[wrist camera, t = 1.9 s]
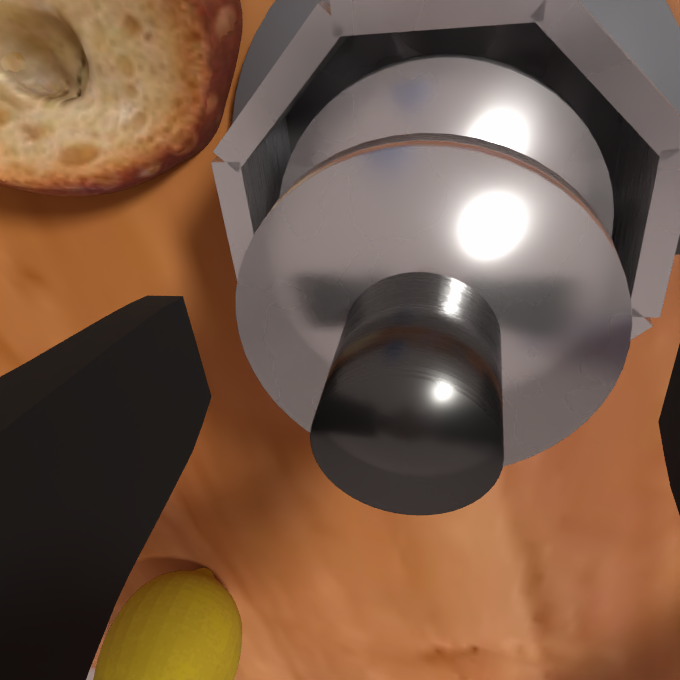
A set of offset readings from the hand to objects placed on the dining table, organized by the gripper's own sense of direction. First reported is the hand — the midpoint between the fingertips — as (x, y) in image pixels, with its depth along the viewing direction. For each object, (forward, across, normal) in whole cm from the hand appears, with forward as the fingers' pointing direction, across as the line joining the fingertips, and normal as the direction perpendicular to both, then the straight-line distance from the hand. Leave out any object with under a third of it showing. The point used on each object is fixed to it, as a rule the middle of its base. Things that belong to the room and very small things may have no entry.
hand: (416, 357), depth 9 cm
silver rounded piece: (+5, 0, 0) cm, 5 cm away
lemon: (+8, +11, +19) cm, 23 cm away
